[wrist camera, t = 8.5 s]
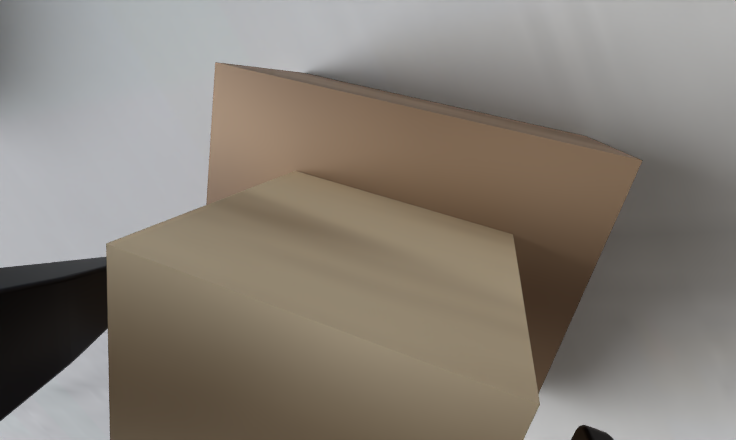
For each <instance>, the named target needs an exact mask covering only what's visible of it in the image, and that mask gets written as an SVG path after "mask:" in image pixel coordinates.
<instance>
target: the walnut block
mask: <svg viewBox="0 0 736 440" xmlns="http://www.w3.org/2000/svg"><path fill="white" fill-rule="evenodd" d="M642 161H643V160H640V159H638V158H636V157H633V156H631V155H629V154H626V153H624V152H622V151H619V150H617V149H615V148H612V147H610V146H608V145H605V144H603V143H601V142H598V141H596V140H594V139H591V138H589V137H587V136H583V135H578V134H574V133H569V132H565V131H560V130H556V129H551V128H547V127H542V126H538V125H534V124H529V123H525V122H520V121H516V120H511V119H507V118H502V117H498V116H493V115H489V114H485V113H480V112H476V111H471V110H467V109H462V108H458V107H453V106H449V105H444V104H440V103H435V102H431V101H427V100H422V99H418V98H413V97H409V96H404V95H400V94H395V93H391V92H386V91H382V90H378V89H373V88H369V87H364V86H360V85H355V84H351V83H346V82H342V81H337V80H333V79H329V78H324V77H320V76H315V75H311V74H306V73H300V72H292V71H283V70H275V69H267V68H258V67H250V66H242V65H234V64H225V63H217V62H215V76H214V92H213V108H212V124H211V140H210V156H209V172H208V188H207V203H206V205H208V204H211V203H213V202H216V201H218V200H221V199H224V198H226V197H229V196H231V195H234V194H237V193H239V192H242V191H244V190H247V189H250V188H252V187H255V186H257V185H260V184H263V183H265V182H268V181H270V180H273V179H276V178H278V177H281V176H283V175H286V174H289V173H291V172H294V171H298V172H301V173H305V174H308V175H311V176H315V177H318V178H322V179H325V180H328V181H332V182H335V183H339V184H342V185H346V186H349V187H352V188H356V189H359V190H363V191H366V192H369V193H373V194H376V195H380V196H383V197H387V198H390V199H393V200H397V201H400V202H404V203H407V204H411V205H414V206H417V207H421V208H424V209H428V210H431V211H434V212H438V213H441V214H445V215H448V216H452V217H455V218H458V219H462V220H465V221H469V222H472V223H475V224H479V225H482V226H486V227H489V228H493V229H496V230H499V231H503V232H506V233H510V234H513V238H514V244H515V250H516V257H517V263H518V269H519V275H520V282H521V288H522V294H523V301H524V307H525V313H526V320H527V326H528V332H529V339H530V345H531V351H532V358H533V364H534V370H535V376H536V383H537V389H538V394H539V391H540V389H541V387H542V385H543V382H544V380H545V378H546V376H547V373H548V371H549V369H550V367H551V364H552V362H553V360H554V358H555V356H556V353H557V351H558V349H559V347H560V344H561V342H562V340H563V338H564V335H565V333H566V331H567V329H568V326H569V324H570V322H571V320H572V317H573V315H574V313H575V311H576V308H577V306H578V304H579V302H580V299H581V297H582V295H583V293H584V291H585V288H586V286H587V284H588V282H589V279H590V277H591V275H592V273H593V270H594V268H595V266H596V264H597V261H598V259H599V257H600V255H601V252H602V250H603V248H604V246H605V243H606V241H607V239H608V237H609V234H610V232H611V230H612V228H613V226H614V223H615V221H616V219H617V217H618V214H619V212H620V210H621V208H622V205H623V203H624V201H625V199H626V196H627V194H628V192H629V190H630V187H631V185H632V183H633V181H634V178H635V176H636V174H637V172H638V169H639V167H640V165H641V163H642Z"/></svg>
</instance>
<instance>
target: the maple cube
mask: <svg viewBox="0 0 736 440" xmlns="http://www.w3.org/2000/svg"><path fill="white" fill-rule="evenodd" d="M106 254H107V305H108V357H109V408H110V440H523V439H524V437H525V435H526V433H527V431H528V429H529V426H530V424H531V422H532V420H533V418H534V416H535V414H536V412H537V409H538V407H539V405H540V402H539V395H538V389H537V383H536V376H535V370H534V364H533V358H532V351H531V345H530V339H529V332H528V326H527V320H526V313H525V307H524V301H523V294H522V288H521V282H520V275H519V269H518V263H517V257H516V250H515V244H514V238H513V234H510V233H506V232H503V231H499V230H496V229H493V228H489V227H486V226H482V225H479V224H475V223H472V222H469V221H465V220H462V219H458V218H455V217H452V216H448V215H445V214H441V213H438V212H434V211H431V210H428V209H424V208H421V207H417V206H414V205H411V204H407V203H404V202H400V201H397V200H393V199H390V198H387V197H383V196H380V195H376V194H373V193H369V192H366V191H363V190H359V189H356V188H352V187H349V186H346V185H342V184H339V183H335V182H332V181H328V180H325V179H322V178H318V177H315V176H311V175H308V174H305V173H301V172H298V171H294V172H291V173H289V174H286V175H283V176H281V177H278V178H276V179H273V180H270V181H268V182H265V183H263V184H260V185H257V186H255V187H252V188H250V189H247V190H244V191H242V192H239V193H237V194H234V195H231V196H229V197H226V198H224V199H221V200H218V201H216V202H213V203H211V204H208V205H205V206H203V207H200V208H198V209H195V210H192V211H190V212H187V213H185V214H182V215H179V216H177V217H174V218H172V219H169V220H166V221H164V222H161V223H159V224H156V225H153V226H151V227H148V228H146V229H143V230H140V231H138V232H135V233H133V234H130V235H127V236H125V237H122V238H120V239H117V240H114V241H112V242H109V243H107V244H106Z"/></svg>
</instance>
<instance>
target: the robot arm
mask: <svg viewBox="0 0 736 440" xmlns="http://www.w3.org/2000/svg"><path fill="white" fill-rule="evenodd" d="M107 329H108V305H107V257H100V258H91V259H81V260H71V261H62V262H52V263H43V264H33V265H23V266H14V267H4V268H0V421H1V420H2V419H4V418H5V417H6V416H7V415H9V414H10V413H11V412H12V411H13V410H15V409H16V408H17V407H18V406H20V405H21V404H22V403H23V402H24V401H26V400H27V399H28V398H29V397H31V396H32V395H33V394H34V393H35V392H37V391H38V390H39V389H40V388H42V387H43V386H44V385H45V384H47V383H48V382H49V381H50V380H51V379H53V378H54V377H55V376H56V375H58V374H59V373H60V372H61V371H62V370H64V369H65V368H66V367H67V366H68V365H69V364H71V363H72V362H73V361H74V360H75V359H76V358H77V357H78V356H79V355H80V354H82V353H83V352H84V351H85V350H86V349H87V348H88V347H89V346H90V345H91V344H92V343H93V342H94V341H95V340H96V339H97V338H98V337H99V336H100V335H101V334H102V333H103V332H104V331H106V330H107ZM571 440H614V439H613V438H612V437H611V436H610V435H609V434H607V433H606V432H603V431H600V430H598V429H595V428H592V427H589V426H586V425H582V426H579V427H578V428H577V430H576V431H575V433H574V435H573V437H572V439H571Z"/></svg>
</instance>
